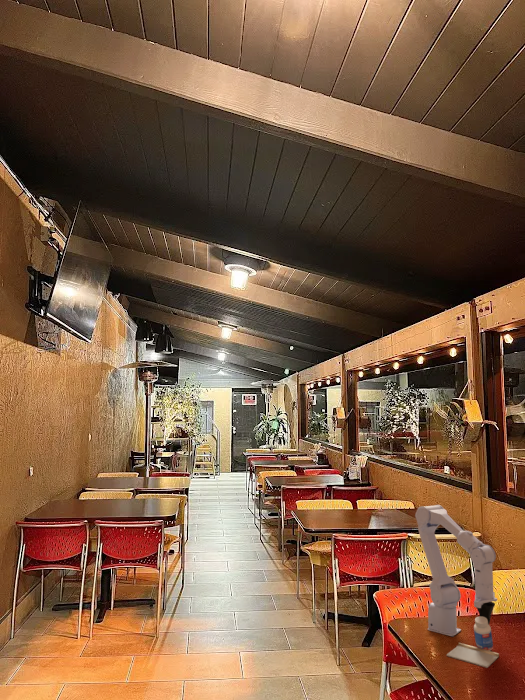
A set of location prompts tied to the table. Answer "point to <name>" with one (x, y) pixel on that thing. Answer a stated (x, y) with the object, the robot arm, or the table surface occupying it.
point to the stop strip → (479, 649)
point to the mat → (472, 656)
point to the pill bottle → (483, 633)
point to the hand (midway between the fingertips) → (485, 624)
